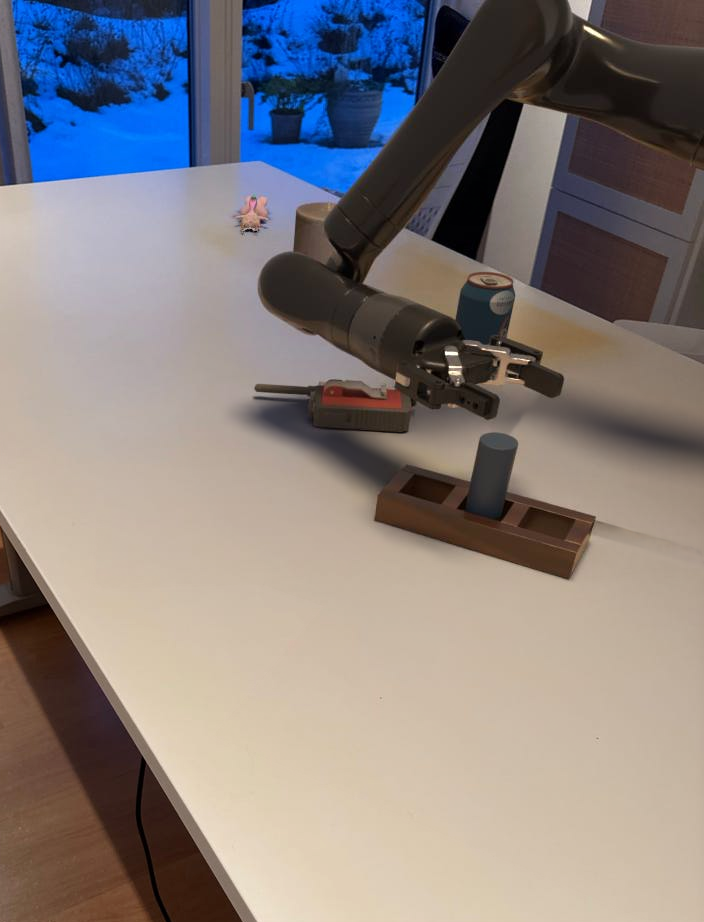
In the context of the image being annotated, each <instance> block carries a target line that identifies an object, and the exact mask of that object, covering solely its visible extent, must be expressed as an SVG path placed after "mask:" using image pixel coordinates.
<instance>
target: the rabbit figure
mask: <svg viewBox="0 0 704 922" xmlns="http://www.w3.org/2000/svg"><path fill="white" fill-rule="evenodd" d="M244 201H245V202H244V203H245V204H244V207H243V208H242V209H241V210H240V215H236V216H235V220H239V219H241V223H240V227H242V228H240V231H241V230H244V228H249V227H251V228H255V231H257V228H261V221H265V222H269V218H268V215H269V213H268V211H267V209H266V206H267V204H268V198H267V197H266V196H260V197H258V198H257V196H256V195H255V194H252V195H247V197H246V198H245V200H244ZM260 220H261V221H260Z"/></svg>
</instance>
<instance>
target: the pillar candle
mask: <svg viewBox="0 0 704 922" xmlns="http://www.w3.org/2000/svg"><path fill="white" fill-rule="evenodd" d="M336 204H338V202H331V200H328V201H326V202H325V201H323V202H310V203H303V204H301V205H299V206H297V208H296V209H295V223H294V234H293V235H294V236H293V248H292V251H294V252H300V253H303V254H305V255H307V256H309V257H311V258H313V259H315V260H317V261H319V262H321V263H322V264H325V263H326V261H327V259H328V257H329V255H330V252H331V250H332V247H331V245H330V244H329V242H328V241H327V240H326V238H325V236H324V233H323V229H322V226H323V222H324V220H325V218H326V217H327V215H328V214H329V213H330V211H331V210H332V209H333V208H334V206H335V205H336Z"/></svg>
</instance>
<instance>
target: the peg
mask: <svg viewBox="0 0 704 922" xmlns="http://www.w3.org/2000/svg"><path fill="white" fill-rule="evenodd" d="M518 447H519V441H518V440H517V438H515V437H514V436H512V435H510V434H507V433H504V432H503V433H502V432H496V431H495V432H494V431H493V432H492V431H491V432H486V433H483V434H481V435H480V437H479V438H478V444H477V449H476V453H475V458H474V464H473V469H472V472H471V478H470V487H469V492H468V496H467V501H466V506H465V512H468V513H472V514H475V515H479V516H482V517H486V518H489V519H493V520H496V521H500V519H501V515H502V511H503V507H504V502H505V498H506V494H507V492H508V489H509V486H510V481H511V477H512V472H513V469H514V464H515V461H516V455H517V451H518Z"/></svg>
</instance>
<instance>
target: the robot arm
mask: <svg viewBox="0 0 704 922" xmlns="http://www.w3.org/2000/svg"><path fill="white" fill-rule="evenodd" d="M504 100H509V101H512V102H516V103H519V104H524V105H529V106H533V107H537V108H542V109H546V110H551V111H554V112H559V113H562V114H568V115H570V116H575V117H578V118H582V119H585V120H589V121H591V122H595V123H597V124H599V125H601V126H604V127H606V128H608V129H611V130H613V131H614V132H617V133H619V134H620V135H622V136H625V137H626V138H628V139H630V140H632V141H634V142H636V143H639V144H640V145H643V146H645V147H646V148H649V149H651V150H653V151H656V152H657V153H660V154H662V155H665V156H667V157H670V158H672V159H674V160H676V161H678V162H681V163H683V164H685V165H688V166H691V167H692V168H696V169H699V170H701V171H703V172H704V47H701V46H685V45H668V44H667V45H665V44H653V43H647V42H640V41H637V40H633V39H630V38H628V37H625V36H623V35H622V36H621V35H619V34H617V33H615V32H612V31H610V30H607V29H605V28H603V27H601V26H599V25H596V24H595V23H593V22H590V21H589V20H586V19H584V18H582V17H581V16H579V15H577V14H576V13H574V12H573V11H572V8H571V4H570V2H569V0H483V2H482V3H481V5H480V6H479V8H478V9H477V10H476V12H475V13H474V15H473V16H472V18H471V19H470V21H469V23H468V24H467V26H466V27H465V29H464V31H463V33H462V34H461V36H460V37H459V38H458V41H457V42H456V44H455V45H454V47H453V49H452V50H451V52H450V54H449V55H448V57H447V59H446V60H445V61H444V63H443V65H442V66H441V68H440V69H439V70H438V72H437V74H436V75H435V77H434V78H433V80H432V81H431V83H430V84H429V86H428V87H427V88H426V90H425V91H424V93H423V94H422V96H421V97H420V99H419V100H418V102H417V103H416V105H415V106H414V107H413V109H412V110H411V112H410V113H409V114H408V115H407V117H406V118H405V119H404V120H403V122H402V124H400V126H399V128H398V129H397V130H396V131H395V133H394V134H393V135H392V136H391V138H390V139H389V141H388V142H387V143H386V144H385V146H384V147H383V148H382V149H381V150H380V152H378V154H377V155H376V156H375V157H374V159H373V160H372V161H371V162H370V163H369V165H368V166H367V167H366V168H365V170H364V171H363V172H362V173H361V174H360V175H359V177H357V179H356V180H355V181H354V183H352V185H351V186H350V187H349V188H348V189H347V190H346V192H345V193H344V194H343V195H342V196H341V198H340V199H339V201H337V203H338V204H336V205H335V206H334V208H333V209H332V210H331V211H330V213H329V214H328V215H327V217H326V218H325V220H324V222H323V226H322V229H323V233H324V236H325V238H326V240H327V241H328V242H329V244H330V245H331V247H332V250H331V252H330V255H329V257H328V259H327V261H326V263H325V264H322V263H321V262H319V261H317V260H315V259H313V258H311V257H309V256H307V255H305V254H303V253H300V252H294V251H293V250H292V251H290V250H289V251H283V252H280V253H278V254H276V255H274V256H272V257H271V258H270V259H269V260H268V261H267V262H266V263H265V264H264V265H263V266H262V268H261V270H260V272H259V274H258V279H257V286H256V287H257V294H258V298H259V300H260V303H261V305H262V306H263V307H264V309H265V310H266V311H267V312H268V313H270V314H271V315H273V316H274V317H275V318H277V319H279V320H281V321H282V322H284V323H286V324H287V325H289V326H291V327H292V328H293V329H295V330H296V331H299V333H302V334H304V335H307V336H319V337H320V338H322V339H323V340H324V341H326V342H327V343H329V344H330V345H332V347H334V348H336V349H338V350H339V351H341V352H344V353H346V354H347V355H350V356H352V357H353V358H356V359H357V360H359V361H361V362H362V363H363V364H364V365H366V366H367V367H369V368H370V369H372V370H374V371H376V372H378V373H379V374H381V375H383V376H385V377H387V378H390V379H392V380H393V381H394V387H393V389H394V390H398V391H400V392H401V393H403V394H405V395H407V396H408V397H410V398H412V399H414V400H415V401H416V403H418V404H420V405H423V406H424V407H426V408H428V409H430V410H434V411H438V410H441V409H442V405H446V406H447V407H449V408H451V409H452V408H453V409H457V408H458V409H459V408H462V409H464V410H466V411H468V412H470V413H472V414H474V415H475V416H478V417H480V418H482V419H484V420H486V421H491V420H493V419H496V418H497V416H498V412H499V407H500V403H501V399H500V396H499V395H498V394H497V393H494V392H492V391H490V390H488V389H485V388H483V387H481V386H480V385H484V386H485V385H486V386H492V387H502V386H504V385H505V384H506V383H507V384H515V385H522V386H523V387H525V388H527V389H529V390H531V391H534V392H536V393H537V394H541V395H543V396H545V397H547V398H549V399H555V398H558V397H560V396H561V394H562V390H563V386H564V382H565V377H564V375H563V374H562V373H561V372H558V371H555V370H554V369H551V368H549V367H547V366H545V365H542V364H541V361H542V358H543V355H544V352H543V351H542V350H540V349H537V348H534V347H532V346H529V345H526V344H524V343H521V342H519V341H516V340H513V339H512V338H511V339H510V338H508V337H507V338H505V337H503V336H500V335H492V336H491V338H490V343H489V344H488V345H483V344H481V343H480V342H479V341H472V340H466V339H465V337H464V335H463V333H462V331H461V328H460V326H459V324H458V323H457V321H456V320H455V319H456V318H453V317H452V316H449V315H447V314H444V313H443V312H440V311H438V310H436V309H432V308H430V307H428V306H426V305H423V304H420V303H418V302H416V301H413V300H410V299H409V298H407V297H404V296H399V295H395V294H390V293H387V292H385V291H383V290H380V289H378V288H375V287H374V286H371V285H368V284H365V283H364V282H365V280H366V278H367V277H368V274H369V272H370V271H371V268H372V267H373V265H374V263H375V261H376V260H377V259H378V258H379V256H381V254H382V253H383V252H384V250H386V249H387V248H388V246H389V245H390V244H391V243H392V242H393V241H394V240H395V239H396V238H397V237H398V236H399V234H400V233H401V232H402V231H403V230H404V229H405V227H406V226H407V225H408V224H409V223H410V222H411V220H412V219H413V218H414V217H415V216H416V214H417V213H418V212H419V210H420V209H421V208H422V206H423V205H424V203H425V202H426V201H427V199H428V198H429V196H430V195H431V193H432V192H433V190H434V189H435V187H436V185H437V184H438V182H439V181H440V179H441V177H442V175H443V174H444V172H445V170H446V169H447V168H448V166H449V164H450V163H451V161H452V160H453V158H454V157H455V155H456V154H457V152H458V151H459V150H460V148H461V147H462V145H463V144H464V143H465V142H466V141H467V139H468V138H469V137H470V135H471V134H472V133H473V132H474V131H475V130H476V129H477V127H478V126H479V125H480V124H481V123H482V122H483V121H484V120H485V119H486V117H488V115H489V114H491V112H493V111H494V110H495V109H496V108H497V107H498V106H499V105H500V104H501V103H502V102H503V101H504ZM492 365H493V366H499V368H498V369H497V370H498V371H497V373H496V374H495V375H494V374H493V375H491V370H492ZM508 371H510V373H509V372H508ZM511 372H512V373H511ZM428 392H429V393H428Z"/></svg>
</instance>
